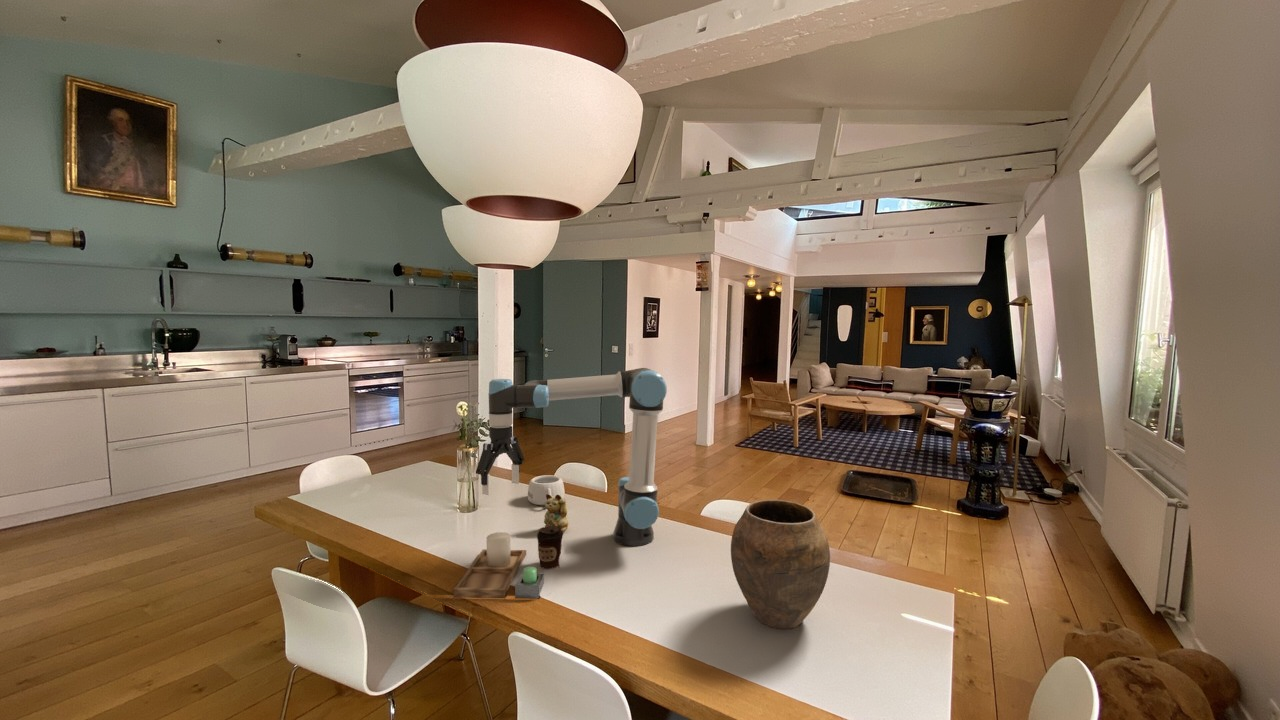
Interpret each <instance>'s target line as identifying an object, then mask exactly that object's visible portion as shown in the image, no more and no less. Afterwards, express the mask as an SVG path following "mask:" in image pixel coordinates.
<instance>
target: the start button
mask: <svg viewBox="0 0 1280 720" xmlns="http://www.w3.org/2000/svg"><path fill="white" fill-rule="evenodd" d="M537 570H538V569H537V567H535V566H527V567H524V568H523V569H522V574H523V583H536V582H537V574H538V573H537Z"/></svg>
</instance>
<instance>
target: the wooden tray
mask: <svg viewBox="0 0 1280 720" xmlns="http://www.w3.org/2000/svg"><path fill="white" fill-rule="evenodd" d="M526 556H527V550H526V549H511V563H510V564H509V565H508V566H506V567H504V568H503V567H488V566H487V549H482V550H481V551H480V553H479V554H478V555H477V557H476V558H475V560H473V562H472V563H471V565H470V566H469V567H468V569H467V570H466V572H465V573H464V574H463V576H462V577H461V579H460V580H459V581H458V583H457V584H456V585H455V587H454V588H453V598H457V599H458V598H459V599H460V598H461V599H463V598H466V599H469V598H470V599H506V597H507V595H506V594H507V593H508V591H509V588H510V587H511V584H512V582H513V581H514V579H515V577H516V575H517V573H518V571H519V569H520V567H521V565H522V564H523V561H524V560H525V559H526Z"/></svg>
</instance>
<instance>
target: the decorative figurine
mask: <svg viewBox="0 0 1280 720" xmlns="http://www.w3.org/2000/svg"><path fill="white" fill-rule="evenodd" d="M546 498H547V501H546V505H545V509H546V512H545V513H544V520H543V523H544V524H545V525H544V527H547V526H557V527H560V528H561V531H562V532H563V533H565V531H567V530H568V527H569V520H568V519H567V516H568V511H567V501H566V499H565V498H564V499H562V497H561V495H560V494H558V495H556V496H555V497H553V496H552V495H550V494H546Z"/></svg>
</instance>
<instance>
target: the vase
mask: <svg viewBox="0 0 1280 720" xmlns="http://www.w3.org/2000/svg"><path fill="white" fill-rule="evenodd" d="M731 536H732V537H731V541H730V558H731V565H732V570H733V574H734V577H735V579H736V581H737V585H738V586H739V589H740V591H741V593H742V595H743V597H744V599H745V600H746V603H747V604H748V607H749V608H750V610H751V612H752V613H753V615H754V616H755V618H756V619H757V620H758V621H760V622H761V623H762V624H764V625H766V626H769V627H772V628H774V629H779V630H791V629H794V628H796V627H799V625H800V624H801V623H802V622H803V621H804V620H805V619H806V618H807V617H808V616H809V614H810V613H811V612H812V610H814V608H815V606H816V605H817V603H818V601H819V599H820V598H821V596H822V594H823V591H824V589H825V587H826V584H827V580H828V577H829V576H828V575H829V573H830V566H831V551H830V544H829V539H828V536H827V533H826V532H825V530H824V528H823V527H822V525H821V523H820V521H819V519H818V517H817V515H816V513H815V512H814V510H812V509H810V508H809V507H808V506H805V505H803V504H800V503H798V502H793V501H788V500H783V499H764V500H758V501H754V502H751V503H750V504H748V505H747V506H746V507H745V509H744V511H743V512H742V515H741V516H740V517H739V520H738V521H737V522H736V524H735V526H734V527H733V532H732V535H731Z"/></svg>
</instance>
